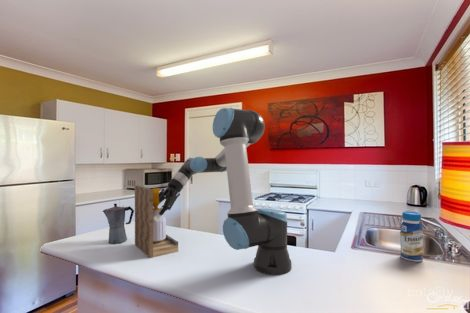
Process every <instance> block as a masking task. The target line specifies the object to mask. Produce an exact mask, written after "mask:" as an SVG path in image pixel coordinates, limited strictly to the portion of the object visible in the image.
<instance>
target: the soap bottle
mask: <svg viewBox="0 0 470 313" xmlns="http://www.w3.org/2000/svg"><path fill="white" fill-rule="evenodd" d="M151 189H152V190H153V206H154V208H153V217H154V216H155V215H156V213H157V212H158V211H159V209H160V208H161V207H159V206H160V205H161V204H162V202H159V193H160V192H161V190H162V188H159V187H158V188H151ZM166 220H167V219H166V216H165V215H164V214H163V215H162V216H161V217H160V219H159V220H158V221H157V222H156V221H155V220H154V219H153V242H156V241H161V240H164V239H165V238H166V235H167V222H166Z"/></svg>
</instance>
